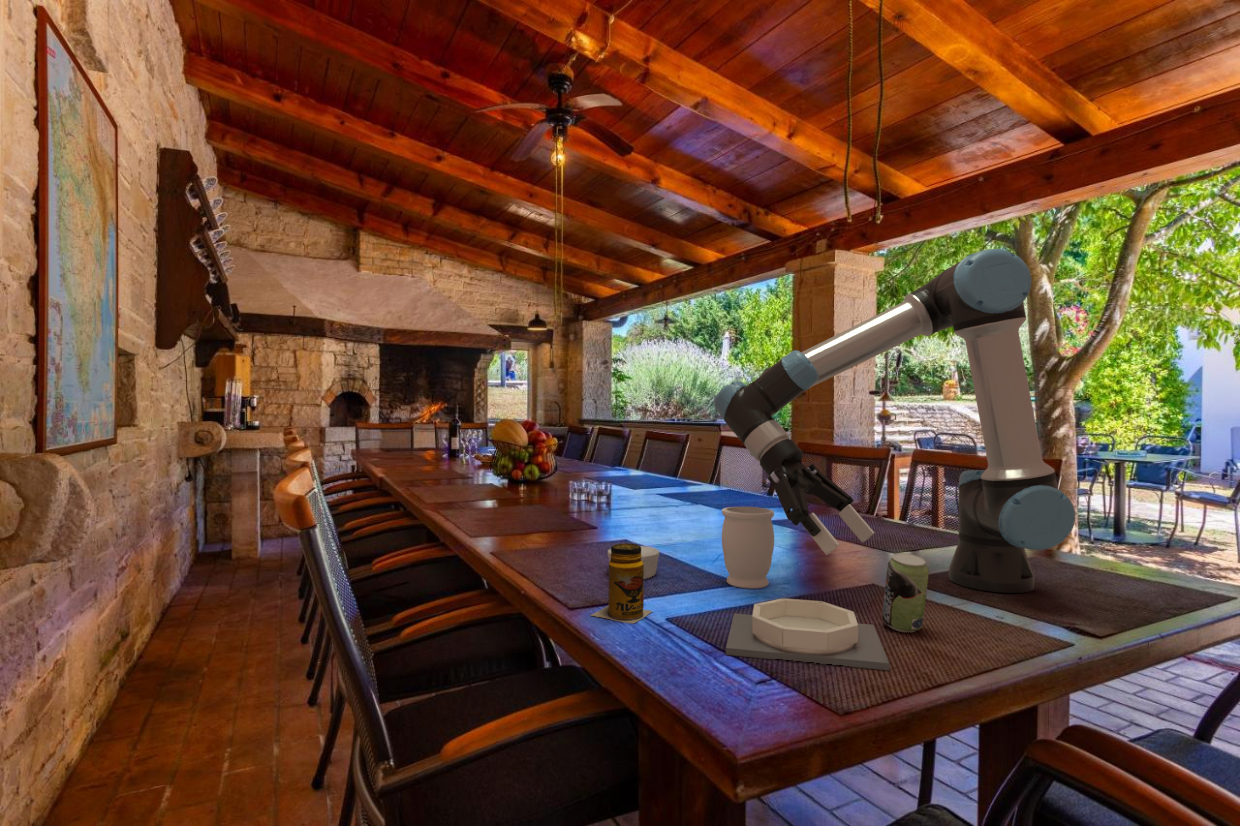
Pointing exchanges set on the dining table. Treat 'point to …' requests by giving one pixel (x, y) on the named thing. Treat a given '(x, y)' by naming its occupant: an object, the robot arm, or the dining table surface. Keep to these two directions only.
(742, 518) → the jar
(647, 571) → the ramekin
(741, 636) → the slate board
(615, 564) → the condiment
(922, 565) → the beverage can
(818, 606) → the dish
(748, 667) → the dining table surface
